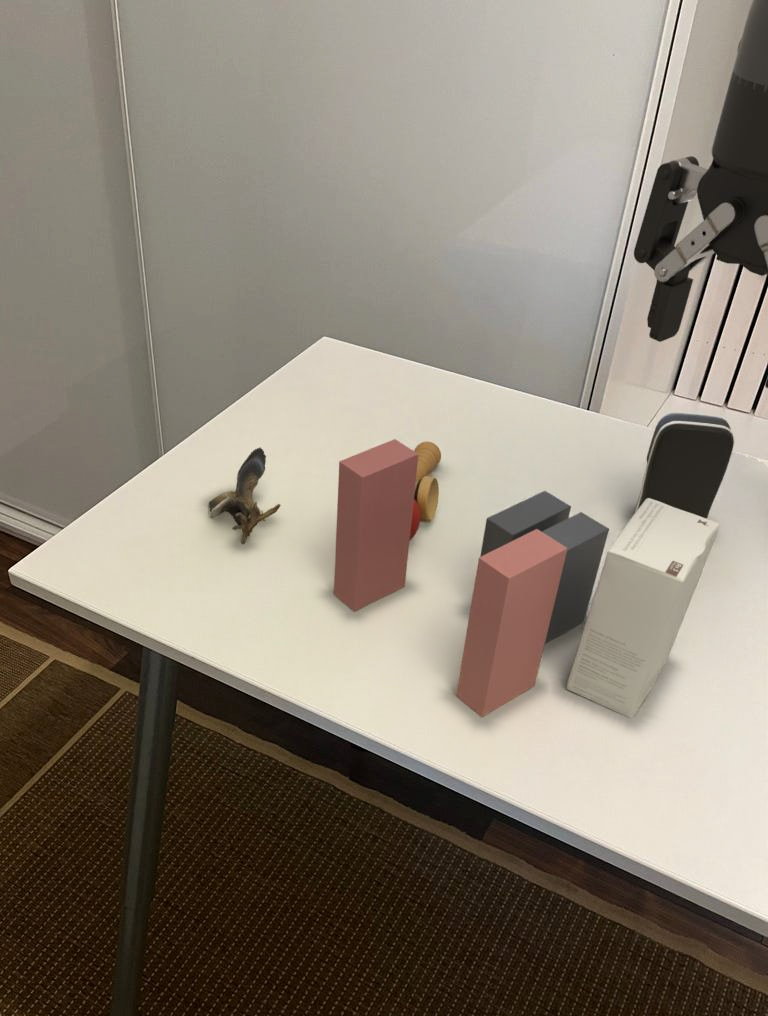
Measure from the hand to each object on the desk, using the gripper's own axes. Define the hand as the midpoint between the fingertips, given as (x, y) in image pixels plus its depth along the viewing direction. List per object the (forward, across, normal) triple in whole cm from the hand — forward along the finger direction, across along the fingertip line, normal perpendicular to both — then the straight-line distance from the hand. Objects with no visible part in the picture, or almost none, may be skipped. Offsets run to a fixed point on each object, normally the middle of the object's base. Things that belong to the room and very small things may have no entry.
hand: (718, 360), depth 61 cm
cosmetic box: (+28, 0, 0) cm, 28 cm away
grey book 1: (+28, +12, 0) cm, 31 cm away
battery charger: (+28, +12, -22) cm, 38 cm away
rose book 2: (+28, +5, +9) cm, 30 cm away
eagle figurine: (+28, +37, +12) cm, 48 cm away
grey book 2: (+28, +8, 0) cm, 29 cm away
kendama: (+28, +29, -2) cm, 41 cm away
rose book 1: (+28, +21, +9) cm, 36 cm away
